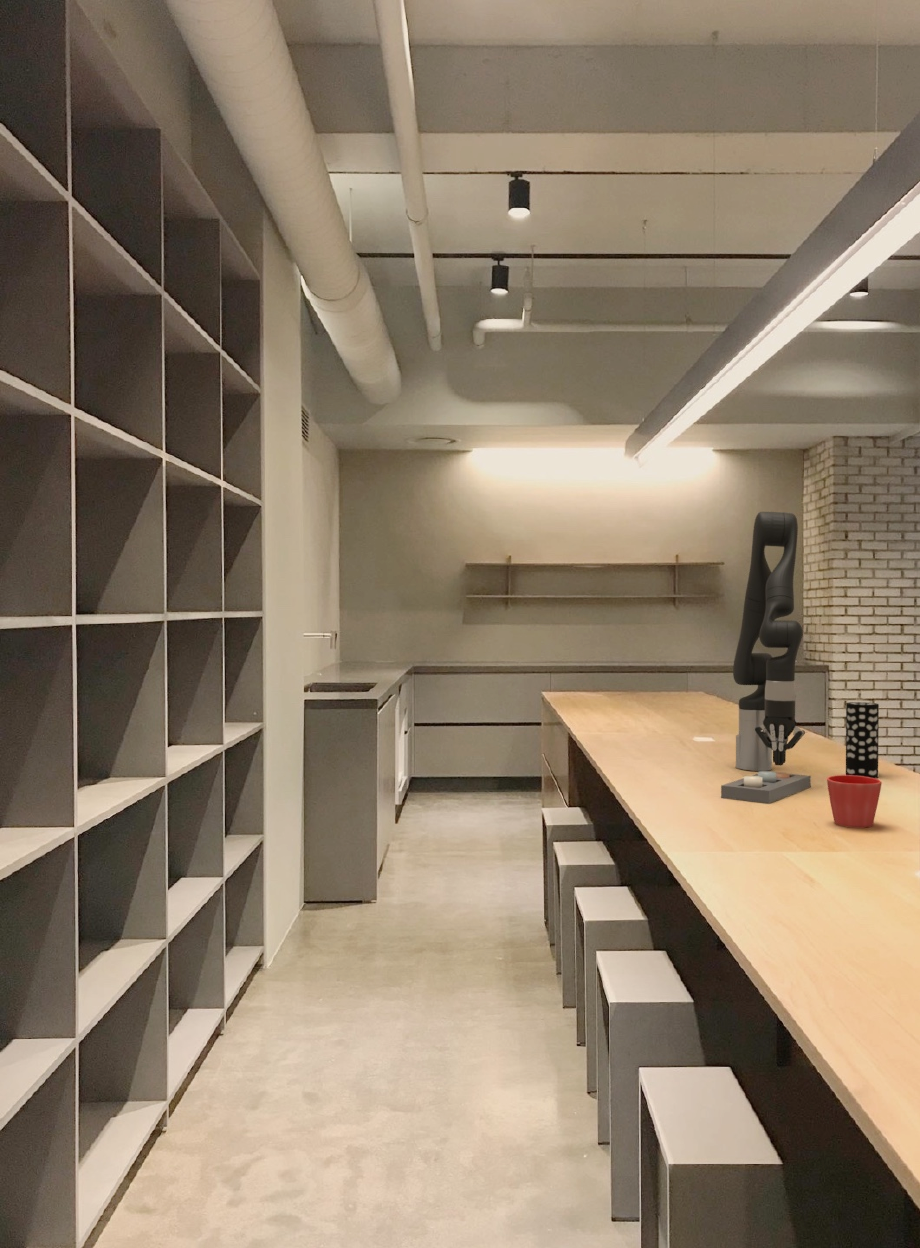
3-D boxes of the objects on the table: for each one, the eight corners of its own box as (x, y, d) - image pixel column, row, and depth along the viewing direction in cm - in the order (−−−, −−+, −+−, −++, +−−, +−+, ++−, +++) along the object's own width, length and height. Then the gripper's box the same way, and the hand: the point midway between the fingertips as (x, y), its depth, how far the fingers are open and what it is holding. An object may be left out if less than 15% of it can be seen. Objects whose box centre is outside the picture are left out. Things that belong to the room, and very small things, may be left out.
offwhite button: (740, 789, 250) (740, 777, 250) (747, 787, 254) (747, 775, 254) (758, 791, 247) (758, 779, 247) (765, 789, 251) (765, 777, 251)
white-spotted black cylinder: (845, 777, 280) (845, 704, 280) (846, 773, 288) (846, 701, 287) (878, 779, 277) (878, 705, 276) (878, 775, 284) (878, 702, 284)
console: (721, 797, 250) (721, 785, 250) (765, 782, 272) (765, 771, 272) (769, 803, 243) (769, 791, 243) (810, 787, 265) (810, 775, 265)
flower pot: (882, 831, 213) (882, 784, 213) (826, 827, 217) (826, 781, 217) (880, 821, 223) (880, 776, 223) (826, 817, 227) (827, 773, 227)
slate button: (755, 784, 257) (755, 772, 257) (762, 782, 261) (762, 770, 261) (772, 786, 254) (772, 774, 254) (778, 784, 258) (779, 772, 258)
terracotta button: (768, 785, 264) (769, 774, 264) (775, 783, 268) (775, 771, 268) (785, 787, 262) (785, 775, 262) (792, 785, 265) (792, 773, 265)
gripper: (749, 697, 266) (748, 764, 266) (800, 701, 257) (799, 769, 258) (761, 695, 271) (760, 760, 272) (810, 698, 263) (809, 765, 264)
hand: (779, 764), depth 265 cm, fingers closed
